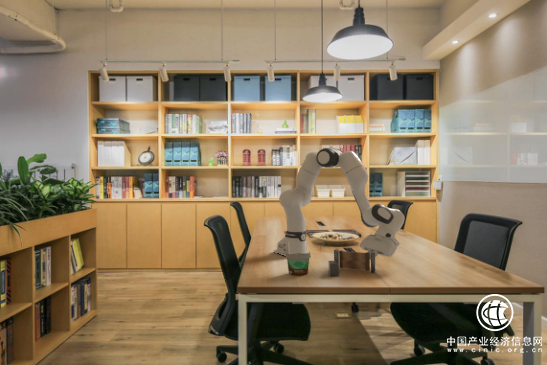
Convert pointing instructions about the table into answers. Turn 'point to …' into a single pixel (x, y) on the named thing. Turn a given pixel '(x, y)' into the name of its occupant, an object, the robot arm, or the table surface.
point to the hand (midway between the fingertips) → (368, 258)
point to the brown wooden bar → (354, 260)
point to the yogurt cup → (298, 263)
